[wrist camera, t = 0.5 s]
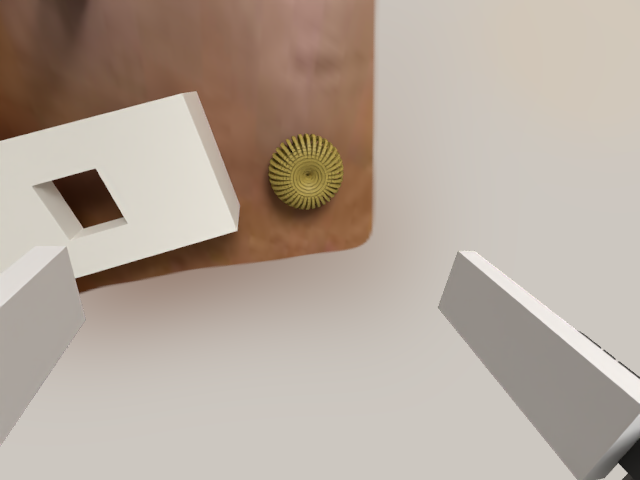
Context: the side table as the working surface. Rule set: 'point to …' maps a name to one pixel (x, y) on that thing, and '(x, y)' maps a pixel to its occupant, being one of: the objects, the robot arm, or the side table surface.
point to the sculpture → (306, 171)
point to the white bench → (118, 185)
